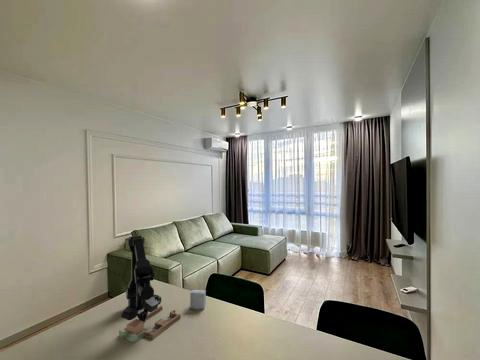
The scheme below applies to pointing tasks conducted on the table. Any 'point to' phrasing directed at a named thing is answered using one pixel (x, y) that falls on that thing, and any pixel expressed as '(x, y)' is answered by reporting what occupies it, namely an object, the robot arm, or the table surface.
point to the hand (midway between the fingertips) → (142, 324)
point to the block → (135, 326)
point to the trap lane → (159, 325)
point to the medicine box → (198, 299)
